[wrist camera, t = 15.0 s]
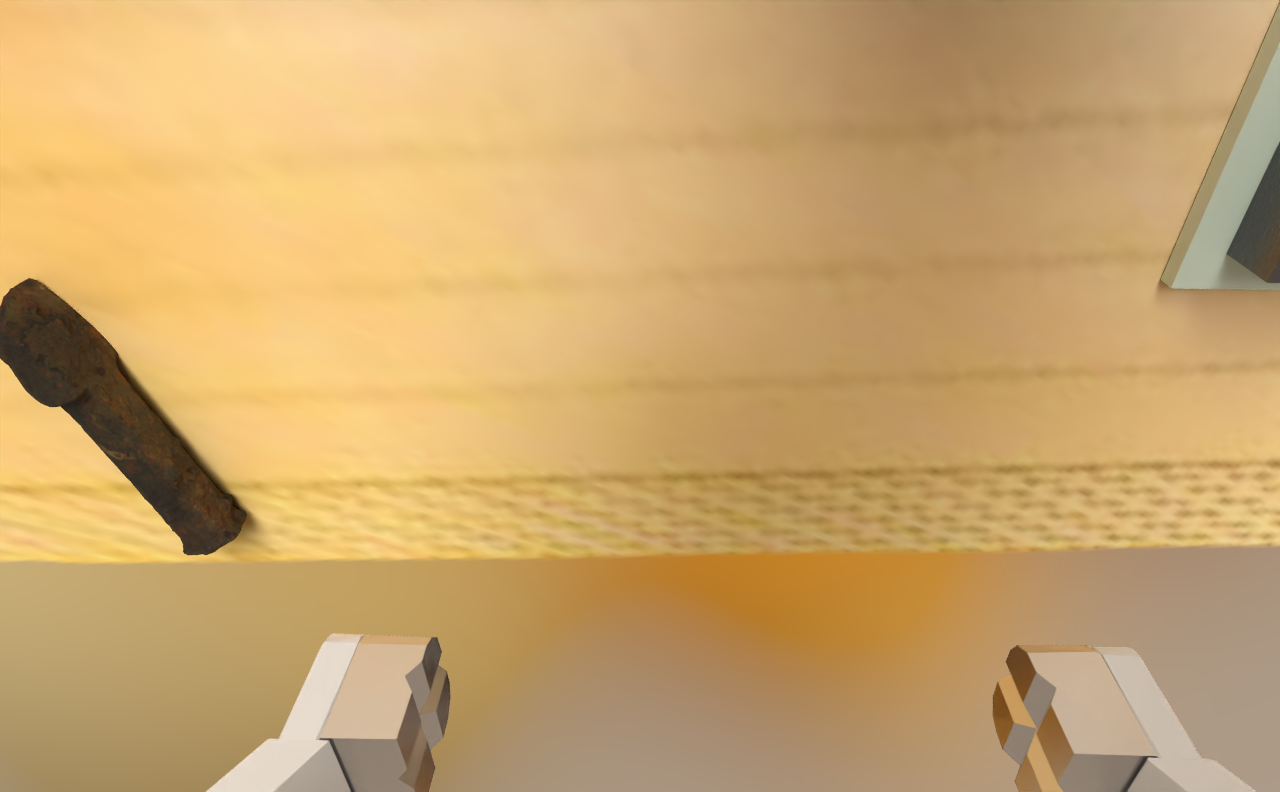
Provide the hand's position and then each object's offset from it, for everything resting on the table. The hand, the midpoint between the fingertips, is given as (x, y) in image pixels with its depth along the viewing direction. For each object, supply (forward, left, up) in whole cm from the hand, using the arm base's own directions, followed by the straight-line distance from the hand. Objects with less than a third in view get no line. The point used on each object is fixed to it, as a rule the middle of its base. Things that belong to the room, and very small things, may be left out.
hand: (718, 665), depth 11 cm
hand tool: (+18, -33, -31) cm, 49 cm away
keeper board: (-3, +31, -30) cm, 43 cm away
